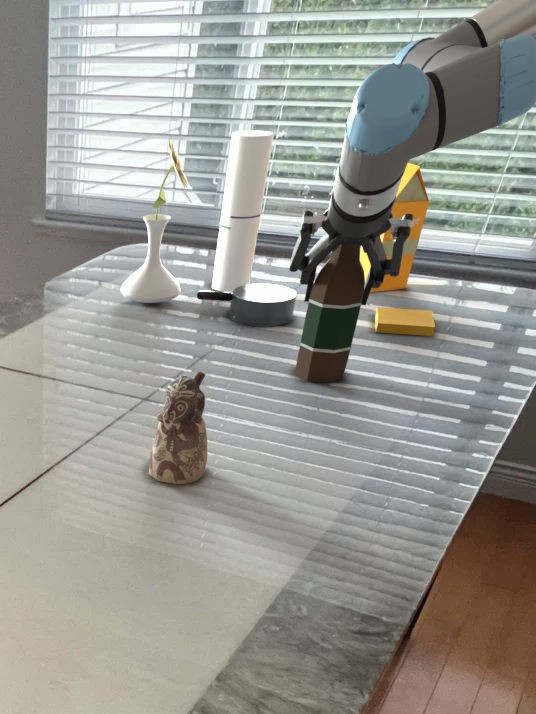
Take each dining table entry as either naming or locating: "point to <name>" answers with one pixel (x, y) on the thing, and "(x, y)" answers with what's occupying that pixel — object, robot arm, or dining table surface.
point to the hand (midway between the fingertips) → (336, 294)
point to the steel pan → (257, 304)
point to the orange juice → (415, 203)
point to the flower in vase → (155, 252)
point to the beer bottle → (332, 317)
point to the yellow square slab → (404, 321)
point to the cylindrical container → (241, 208)
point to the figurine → (181, 434)
